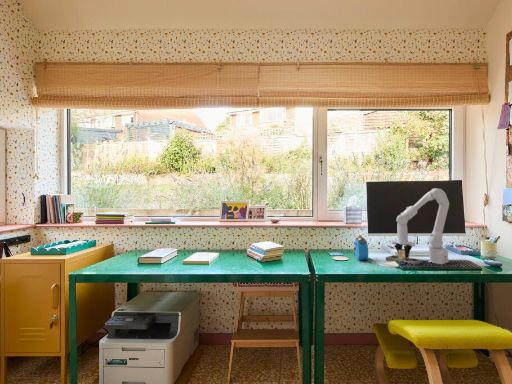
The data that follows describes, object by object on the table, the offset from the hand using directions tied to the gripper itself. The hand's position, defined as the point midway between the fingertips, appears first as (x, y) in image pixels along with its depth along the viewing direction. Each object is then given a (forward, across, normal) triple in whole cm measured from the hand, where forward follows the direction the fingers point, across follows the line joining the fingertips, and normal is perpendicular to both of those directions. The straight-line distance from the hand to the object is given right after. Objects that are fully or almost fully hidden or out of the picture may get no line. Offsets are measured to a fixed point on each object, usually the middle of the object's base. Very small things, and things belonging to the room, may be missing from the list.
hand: (403, 256), depth 217 cm
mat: (+3, 0, -9) cm, 10 cm away
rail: (+3, 0, 0) cm, 3 cm away
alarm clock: (+3, -22, -12) cm, 26 cm away
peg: (+3, 0, 0) cm, 3 cm away
